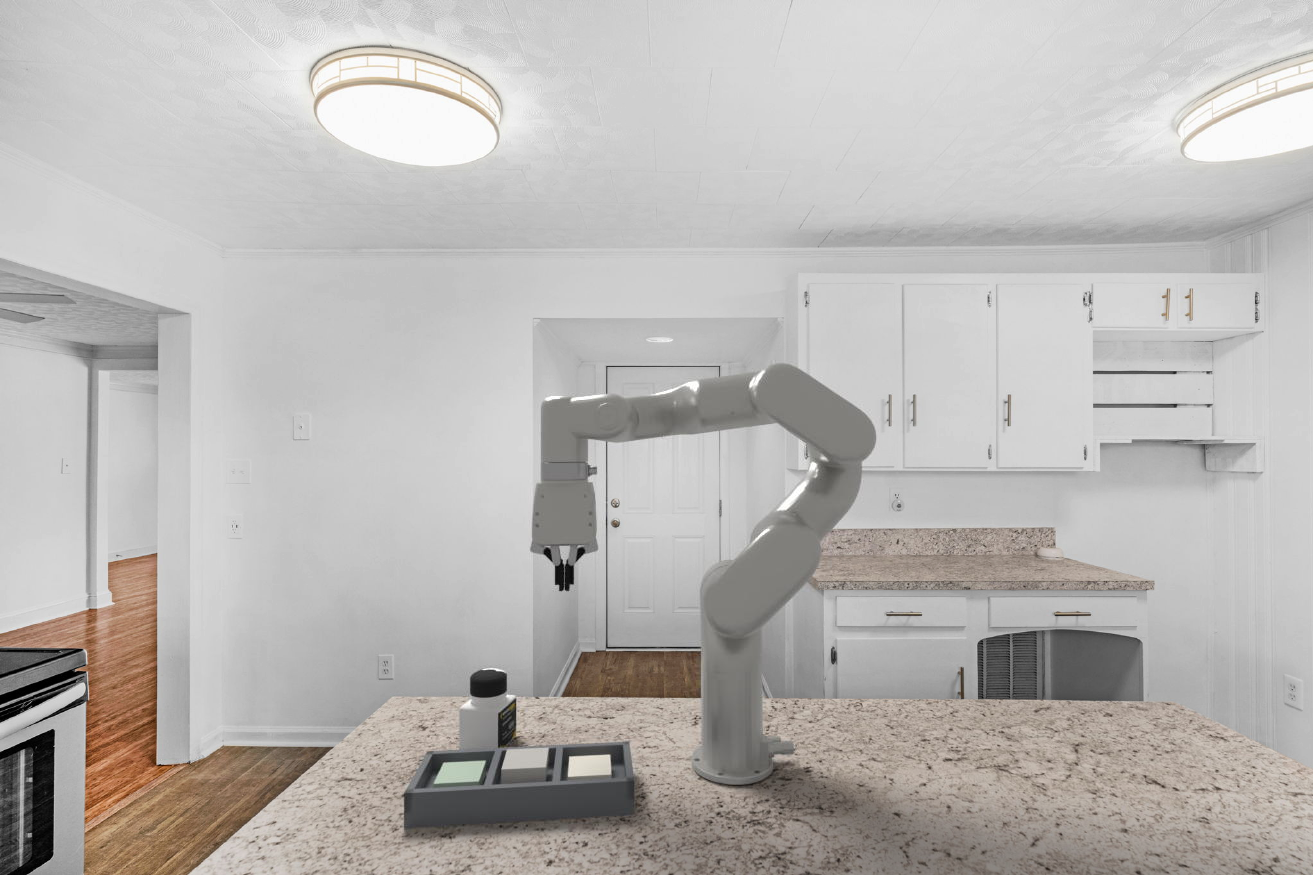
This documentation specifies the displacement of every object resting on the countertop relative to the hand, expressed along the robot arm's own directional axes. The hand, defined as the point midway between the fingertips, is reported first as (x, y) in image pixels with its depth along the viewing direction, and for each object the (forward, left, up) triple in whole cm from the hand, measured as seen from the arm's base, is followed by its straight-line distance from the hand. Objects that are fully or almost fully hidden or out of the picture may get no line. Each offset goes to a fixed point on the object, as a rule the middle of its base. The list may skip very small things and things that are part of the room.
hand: (564, 589), depth 102 cm
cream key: (-4, +10, -25) cm, 27 cm away
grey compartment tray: (+5, +10, -27) cm, 29 cm away
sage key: (+14, +10, -25) cm, 30 cm away
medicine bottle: (+13, -8, -27) cm, 31 cm away
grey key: (+5, +10, -24) cm, 26 cm away
